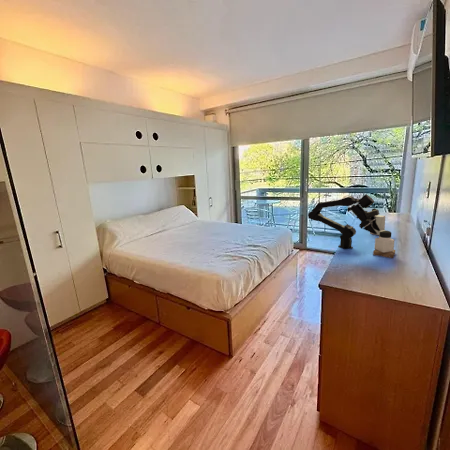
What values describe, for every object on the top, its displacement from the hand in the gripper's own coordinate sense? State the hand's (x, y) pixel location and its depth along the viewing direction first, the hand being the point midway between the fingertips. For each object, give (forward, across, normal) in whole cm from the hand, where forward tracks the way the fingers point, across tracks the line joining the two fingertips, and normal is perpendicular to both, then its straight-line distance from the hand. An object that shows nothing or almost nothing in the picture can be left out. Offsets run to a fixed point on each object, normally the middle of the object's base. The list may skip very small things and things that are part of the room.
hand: (377, 232), depth 149 cm
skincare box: (+4, +46, +15) cm, 49 cm away
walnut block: (+13, 0, +6) cm, 14 cm away
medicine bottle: (+10, 0, +5) cm, 11 cm away
